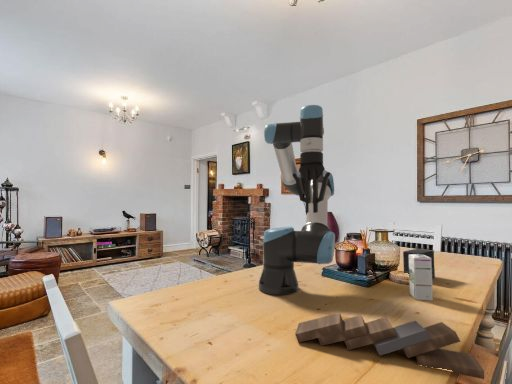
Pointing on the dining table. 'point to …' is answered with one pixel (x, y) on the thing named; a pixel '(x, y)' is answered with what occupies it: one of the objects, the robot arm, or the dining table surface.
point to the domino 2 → (347, 331)
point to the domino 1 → (319, 327)
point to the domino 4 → (403, 338)
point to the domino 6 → (452, 362)
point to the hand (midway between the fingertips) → (311, 222)
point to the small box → (418, 251)
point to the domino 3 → (373, 334)
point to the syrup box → (420, 277)
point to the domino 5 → (433, 340)
